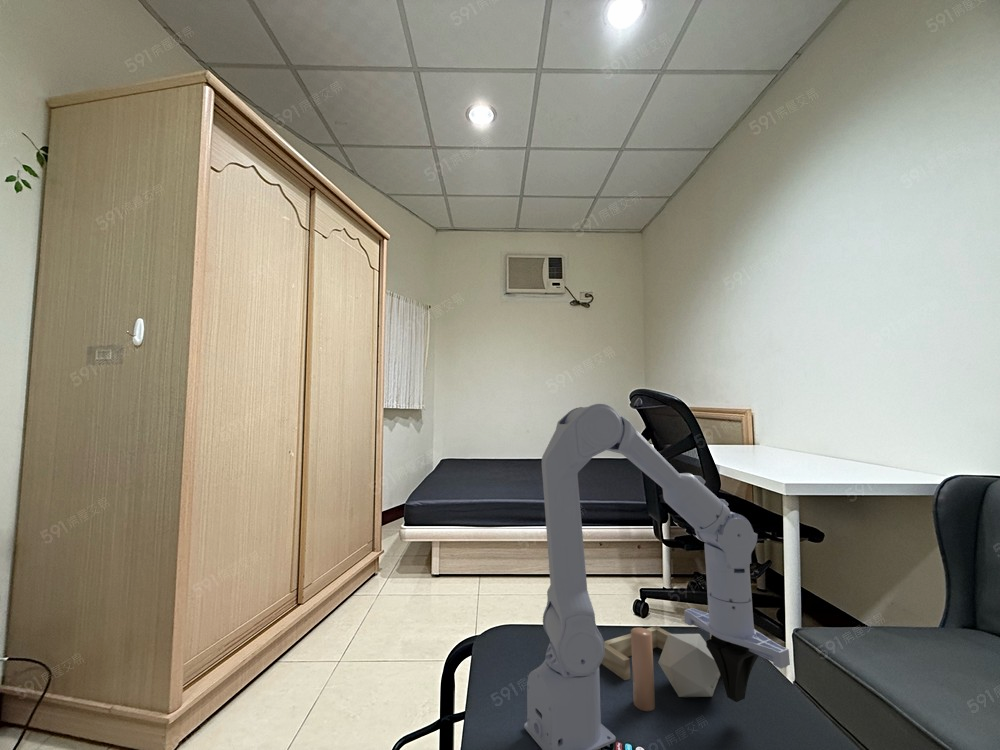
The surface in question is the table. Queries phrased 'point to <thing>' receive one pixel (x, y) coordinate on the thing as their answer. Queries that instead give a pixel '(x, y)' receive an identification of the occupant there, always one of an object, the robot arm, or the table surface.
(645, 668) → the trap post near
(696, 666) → the die
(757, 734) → the table surface
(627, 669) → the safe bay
